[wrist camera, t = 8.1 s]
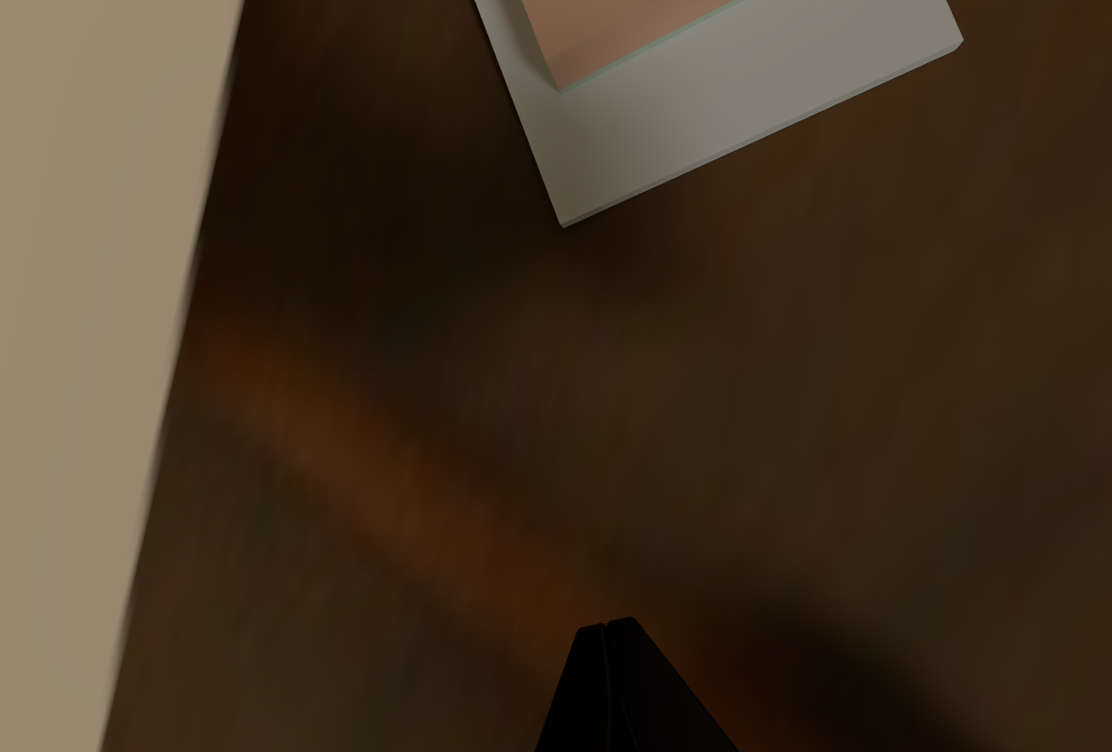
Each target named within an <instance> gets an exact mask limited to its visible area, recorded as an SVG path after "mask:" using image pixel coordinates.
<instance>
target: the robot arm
mask: <svg viewBox="0 0 1112 752" xmlns="http://www.w3.org/2000/svg"><path fill="white" fill-rule="evenodd" d="M535 752H739V751H738V749H737V748H736V747H735V745H734V744H733V743H732V742H731V740H730V739H729V738H728V737H727V735H726V734H725V733H724V731H723V730H722V729H721V728H720V726H719V725H718V724H717V722H716V721H715V720H714V719H713V717H712V716H711V715H710V713H709V712H708V711H707V710H706V708H705V707H704V706H703V705H702V703H701V702H700V701H699V699H698V698H697V697H696V696H695V694H694V693H693V692H692V690H691V689H690V688H689V687H688V685H687V684H686V683H685V682H684V680H683V679H682V678H681V676H680V675H679V674H678V673H677V671H676V670H675V669H674V667H673V666H672V665H671V664H670V662H669V661H668V660H667V659H666V657H665V656H664V655H663V653H662V652H661V651H660V650H659V648H658V647H657V646H656V644H655V643H654V642H653V641H652V639H651V638H650V637H649V636H648V634H647V633H646V632H645V630H644V629H643V628H642V627H641V625H640V624H639V623H638V621H637V620H636V619H635V618H633V617H631V616H630V617H625V618H620V619H616V620H612V621H609V622H608V623H607V627H606V626H605V625H604V624H603V623H598V624H594V625H590V626H585V627H581V628H580V629H578V631H577V632H576V635H575V638H574V641H573V643H572V646H571V649H570V652H569V655H568V658H567V660H566V663H565V666H564V669H563V672H562V675H561V678H560V680H559V683H558V686H557V689H556V692H555V695H554V698H553V700H552V703H551V706H550V709H549V712H548V715H547V717H546V720H545V723H544V726H543V729H542V732H541V735H540V737H539V740H538V743H537V746H536V749H535Z"/></svg>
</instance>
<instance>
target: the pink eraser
mask: <svg viewBox="0 0 1112 752" xmlns="http://www.w3.org/2000/svg"><path fill="white" fill-rule="evenodd" d="M742 1H744V0H522V2H523V5H524V7H525V10H526V13H527V15H528V18H529V20H530V23H531V26H532V28H533V31H534V33H535V36H536V38H537V41H538V44H539V46H540V49H541V51H542V54H543V57H544V59H545V62H546V64H547V66H548V68H549V70H550V72H551V74H552V76H553V78H554V80H555V83H556V85H557V87H558V89H559V91H560V93H561V95H562V94H564V93H566V92H568V91H570V90H572V89H574V88H576V87H577V86H579V85H581V84H583V83H585V82H587V81H589V80H591V79H593V78H595V77H597V76H599V75H601V74H603V73H605V72H607V71H608V70H610V69H612V68H614V67H616V66H618V65H620V64H622V63H624V62H626V61H628V60H630V59H632V58H634V57H636V56H638V55H640V54H641V53H643V52H645V51H647V50H649V49H651V48H653V47H655V46H657V45H659V44H661V43H663V42H665V41H667V40H669V39H671V38H672V37H674V36H676V35H678V34H680V33H682V32H684V31H686V30H688V29H690V28H692V27H694V26H696V25H698V24H700V23H702V22H703V21H705V20H707V19H709V18H711V17H713V16H715V15H717V14H719V13H721V12H723V11H725V10H727V9H729V8H731V7H733V6H735V5H736V4H738V3H740V2H742Z"/></svg>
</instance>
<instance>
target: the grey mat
mask: <svg viewBox="0 0 1112 752" xmlns="http://www.w3.org/2000/svg"><path fill="white" fill-rule="evenodd" d="M475 2H476V5H477V7H478V10H479V12H480V15H481V18H482V20H483V23H484V26H485V28H486V31H487V34H488V36H489V39H490V41H491V44H492V47H493V49H494V52H495V55H496V57H497V60H498V62H499V65H500V68H501V70H502V73H503V76H504V78H505V81H506V84H507V86H508V89H509V91H510V94H511V97H512V99H513V102H514V105H515V107H516V110H517V112H518V115H519V118H520V120H521V123H522V126H523V128H524V131H525V134H526V136H527V139H528V141H529V144H530V147H531V149H532V152H533V155H534V157H535V160H536V162H537V165H538V168H539V170H540V173H541V176H542V178H543V181H544V184H545V186H546V189H547V191H548V194H549V197H550V199H551V202H552V205H553V207H554V210H555V212H556V215H557V218H558V220H559V223H560V225H561V226H562V227H563V228H565V227H568V226H570V225H572V224H574V223H576V222H579V221H581V220H583V219H585V218H587V217H590V216H592V215H594V214H596V213H598V212H601V211H603V210H605V209H607V208H609V207H612V206H614V205H616V204H618V203H620V202H623V201H625V200H627V199H629V198H631V197H634V196H636V195H638V194H640V193H642V192H645V191H647V190H649V189H651V188H653V187H656V186H658V185H660V184H662V183H664V182H667V181H669V180H671V179H673V178H675V177H678V176H680V175H682V174H684V173H686V172H689V171H691V170H693V169H695V168H697V167H700V166H702V165H704V164H706V163H708V162H710V161H713V160H715V159H717V158H719V157H721V156H724V155H726V154H728V153H730V152H732V151H735V150H737V149H739V148H741V147H743V146H746V145H748V144H750V143H752V142H754V141H757V140H759V139H761V138H763V137H765V136H768V135H770V134H772V133H774V132H776V131H779V130H781V129H783V128H785V127H787V126H790V125H792V124H794V123H796V122H798V121H801V120H803V119H805V118H807V117H809V116H812V115H814V114H816V113H818V112H820V111H823V110H825V109H827V108H829V107H831V106H834V105H836V104H838V103H840V102H842V101H845V100H847V99H849V98H851V97H853V96H856V95H858V94H860V93H862V92H864V91H867V90H869V89H871V88H873V87H875V86H878V85H880V84H882V83H884V82H886V81H889V80H891V79H893V78H895V77H897V76H900V75H902V74H904V73H906V72H908V71H910V70H913V69H915V68H917V67H919V66H921V65H924V64H926V63H928V62H930V61H932V60H935V59H937V58H939V57H941V56H943V55H946V54H948V53H950V52H952V51H954V50H956V48H957V47H958V46H959V45H960V44H961V43H962V41H963V38H962V35H961V33H960V31H959V29H958V26H957V24H956V22H955V20H954V17H953V15H952V13H951V10H950V8H949V6H948V4H947V1H946V0H744V1H742V2H740V3H738V4H736V5H735V6H733V7H731V8H729V9H727V10H725V11H723V12H721V13H719V14H717V15H715V16H713V17H711V18H709V19H707V20H705V21H703V22H702V23H700V24H698V25H696V26H694V27H692V28H690V29H688V30H686V31H684V32H682V33H680V34H678V35H676V36H674V37H672V38H671V39H669V40H667V41H665V42H663V43H661V44H659V45H657V46H655V47H653V48H651V49H649V50H647V51H645V52H643V53H641V54H640V55H638V56H636V57H634V58H632V59H630V60H628V61H626V62H624V63H622V64H620V65H618V66H616V67H614V68H612V69H610V70H608V71H607V72H605V73H603V74H601V75H599V76H597V77H595V78H593V79H591V80H589V81H587V82H585V83H583V84H581V85H579V86H577V87H576V88H574V89H572V90H570V91H568V92H566V93H564V94H562V95H561V93H560V91H559V89H558V87H557V85H556V83H555V80H554V78H553V76H552V74H551V72H550V70H549V68H548V66H547V64H546V62H545V59H544V57H543V54H542V51H541V49H540V46H539V44H538V41H537V38H536V36H535V33H534V31H533V28H532V26H531V23H530V20H529V18H528V15H527V13H526V10H525V7H524V5H523V2H522V0H475Z"/></svg>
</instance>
